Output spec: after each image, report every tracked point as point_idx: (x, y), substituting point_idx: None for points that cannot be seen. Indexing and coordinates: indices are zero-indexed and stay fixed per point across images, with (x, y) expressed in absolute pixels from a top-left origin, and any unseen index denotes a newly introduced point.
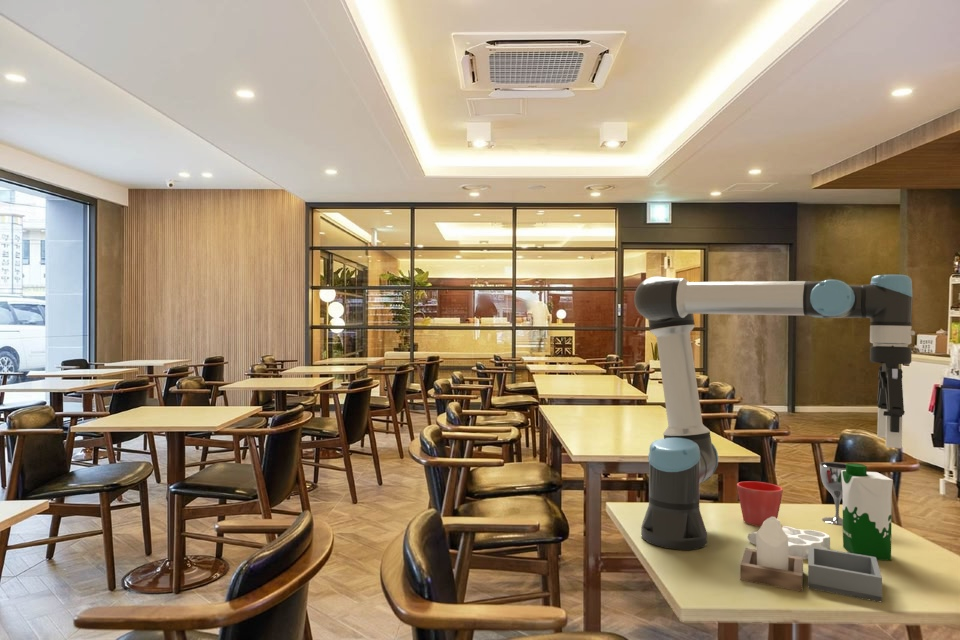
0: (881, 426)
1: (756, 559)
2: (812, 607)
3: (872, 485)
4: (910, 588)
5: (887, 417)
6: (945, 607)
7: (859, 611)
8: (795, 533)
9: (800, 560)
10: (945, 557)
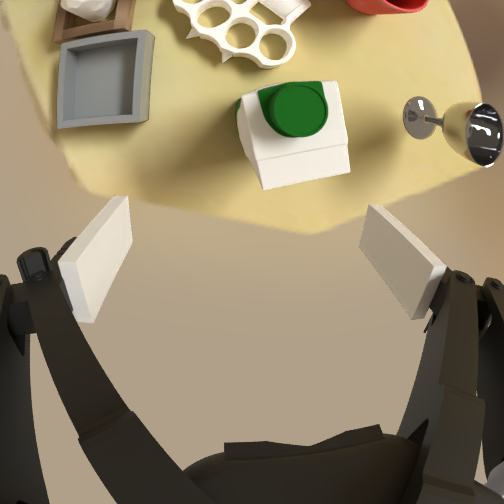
0: (387, 234)
1: None
2: (29, 63)
3: (245, 138)
4: (137, 158)
5: (62, 260)
6: (96, 189)
7: (39, 105)
8: (284, 19)
9: (109, 27)
10: (301, 226)
